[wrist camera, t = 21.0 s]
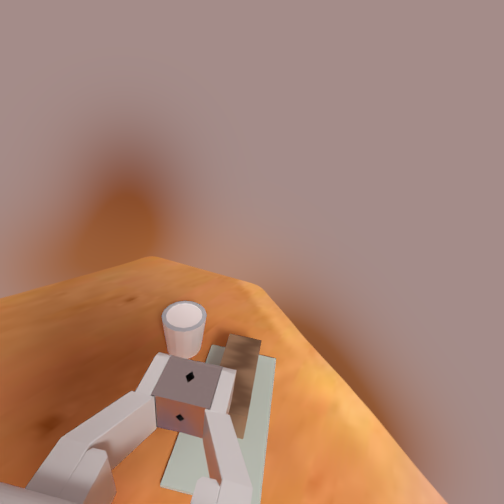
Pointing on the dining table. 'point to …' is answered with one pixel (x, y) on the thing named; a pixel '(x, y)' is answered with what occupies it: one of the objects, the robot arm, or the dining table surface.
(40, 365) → the dining table surface
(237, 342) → the walnut block
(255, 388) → the mat
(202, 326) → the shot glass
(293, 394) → the dining table surface
